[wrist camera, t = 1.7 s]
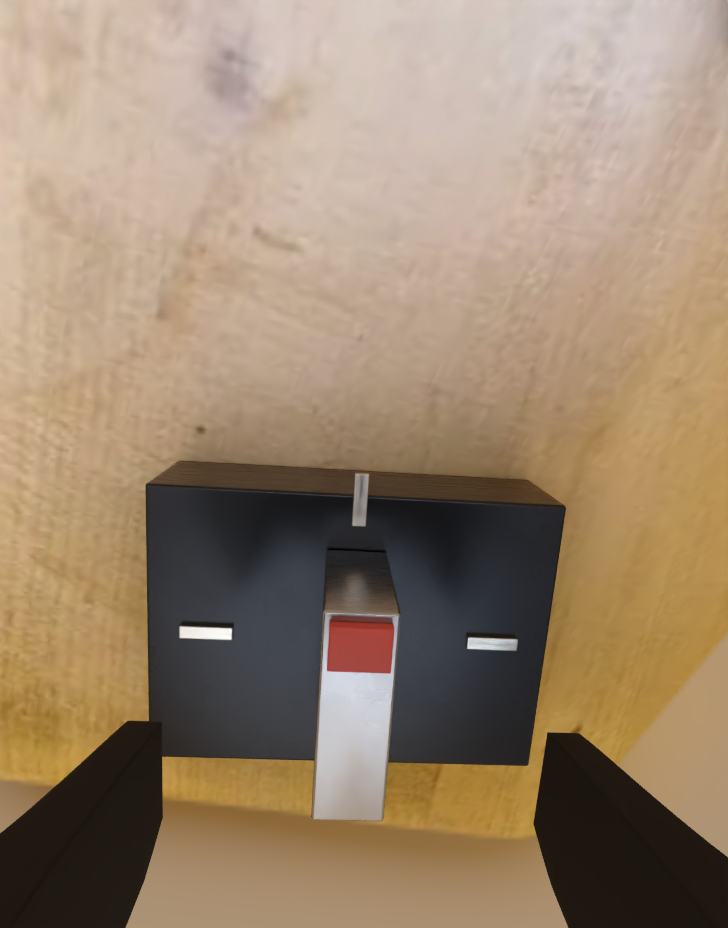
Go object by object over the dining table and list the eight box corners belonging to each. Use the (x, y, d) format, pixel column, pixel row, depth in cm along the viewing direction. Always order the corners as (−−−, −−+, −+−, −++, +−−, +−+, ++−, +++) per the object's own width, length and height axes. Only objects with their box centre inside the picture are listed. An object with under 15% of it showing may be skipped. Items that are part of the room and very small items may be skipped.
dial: (373, 718, 16) (384, 832, 12) (317, 716, 15) (310, 830, 12) (387, 551, 15) (403, 620, 11) (326, 549, 14) (321, 616, 11)
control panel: (497, 718, 19) (528, 788, 16) (178, 708, 19) (146, 779, 16) (531, 461, 17) (573, 485, 14) (178, 441, 17) (142, 461, 14)
